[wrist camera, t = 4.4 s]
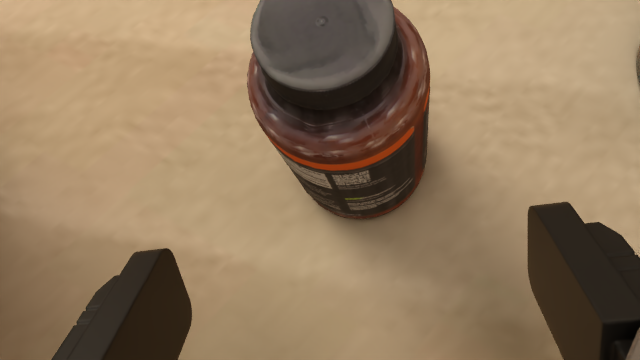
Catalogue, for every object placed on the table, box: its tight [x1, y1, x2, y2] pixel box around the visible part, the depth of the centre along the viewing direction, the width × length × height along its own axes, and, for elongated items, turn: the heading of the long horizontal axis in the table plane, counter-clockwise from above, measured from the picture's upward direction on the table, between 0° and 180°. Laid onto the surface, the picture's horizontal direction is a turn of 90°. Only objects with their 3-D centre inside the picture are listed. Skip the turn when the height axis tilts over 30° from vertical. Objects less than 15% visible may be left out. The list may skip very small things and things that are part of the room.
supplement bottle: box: [247, 0, 430, 219], centre depth 19 cm, size 6×6×11 cm
